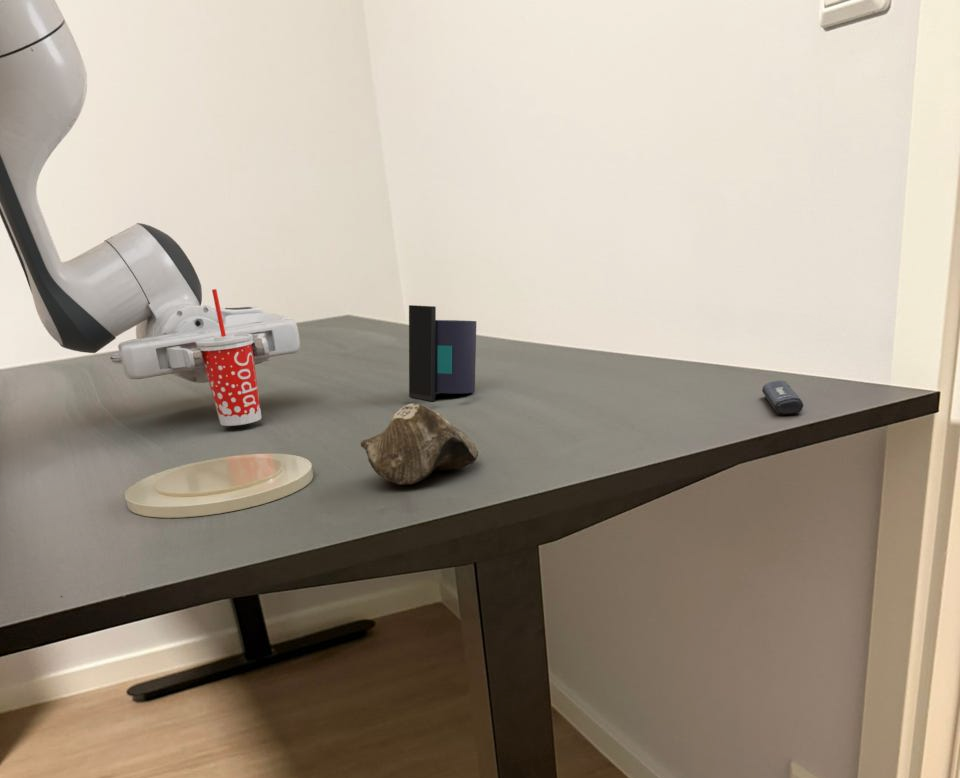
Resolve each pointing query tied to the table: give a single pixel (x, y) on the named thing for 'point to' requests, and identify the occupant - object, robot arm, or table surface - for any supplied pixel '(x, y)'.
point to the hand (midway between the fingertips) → (229, 352)
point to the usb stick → (782, 398)
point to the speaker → (440, 354)
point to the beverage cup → (231, 374)
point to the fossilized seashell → (418, 446)
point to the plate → (219, 485)
